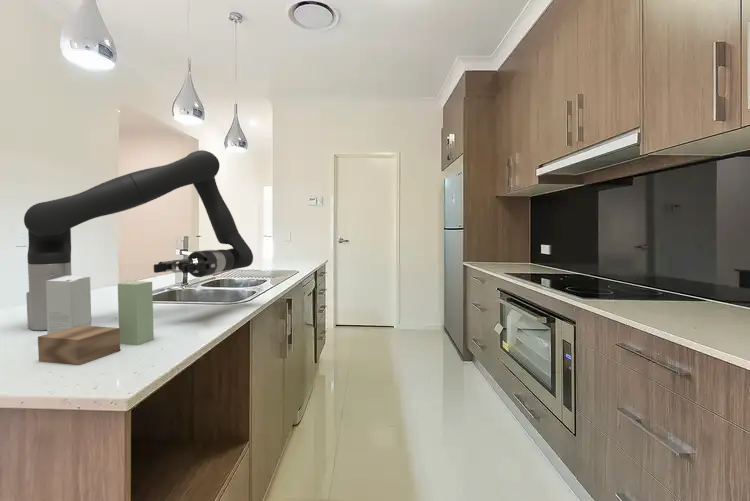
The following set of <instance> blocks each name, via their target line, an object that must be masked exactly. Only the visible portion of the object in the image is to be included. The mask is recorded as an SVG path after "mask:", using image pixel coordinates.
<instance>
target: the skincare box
mask: <svg viewBox="0 0 750 501" xmlns="http://www.w3.org/2000/svg"><path fill="white" fill-rule="evenodd" d="M91 296H92V295H91V276H90V275H72V276H63V277H60V278H56V279H52V280H48V281H46V297H47V330H46V331H47V334H50V333H54V332H58V331H62V330H66V329H70V328H74V327H78V326H82V325H83V326H92V300H91V299H92V297H91Z"/></svg>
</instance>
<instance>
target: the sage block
mask: <svg viewBox="0 0 750 501" xmlns="http://www.w3.org/2000/svg"><path fill="white" fill-rule="evenodd" d="M153 299H154V298H153V281H146V280H145V281H143V280H141V281H139V280H137V281H136V280H134V281H133V280H132V281H128V282H127V281H126V282H121V283H117V304H118V309H117V310H118V328H120V345H130V346H140V345H143V344H146V343H149V342H150V341H153V340H154V339H155V338H154V337H155V336H154V334H155V333H154V307H153V306H154V304H153V303H154V302H153Z"/></svg>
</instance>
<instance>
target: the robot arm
mask: <svg viewBox="0 0 750 501" xmlns="http://www.w3.org/2000/svg"><path fill="white" fill-rule="evenodd" d="M219 170H220V161H219V158H218V157H217V156H216V155H215V154H214V153H212V152H210V151H207V150H203V149H202V150H196V151H193V152H190V153H189V154H187V155H186V156H185V157H182V158H180V159H178V160H176V161H173V162H170V163H168V164H164V165H159V166H155V167H148V168H145V169H139V170H137V171H133V172H129V173H127V174H123V175H121V176H117V177H115V178H112V179H110V180H107V181H104V182H102V183H100V184H97V185H95V186H93V187H90V188H89V189H87V190H86V189H85V190H84V191H81V192H79V193H76V194H73V195H69V196H65V197H60V198H57V199H52V200H48V201H47V200H46V201H42V202H38V203H35V204H34V205H32V206H30V207H29V208H28V209H27V210H26V212H25V213H24V217H23V223H24V226H25V228H26V229H27V231H28V232H27V234H28V235H27V236H28V248H27V273H28V274H27V275H28V291H27V292H26V316H27V317H26V319H27V328H28V329H30V330H32V331H47V297H46V281H48V280H52V279H56V278H60V277H63V276H73V274H72V228H74V227H76V226H79V225H82V224H83V223H85V222H88V221H91V220H93V219H96V218H99V217H104V216H109V215H114V214H117V213H120V212H124V211H128V210H131V209H133V208H137V207H140V206H142V205H145V204H147V203H149V202H151V201H154V200H157V199H159V198H161V197H163V196H165V195H167V194H169V193H171V192H173V191H175V190H178V189H180V188H183V187H186V186H189V185H193V186H194V188H195V190H196V191H197V194H198V196H199V198H200V199H201V202H202V204H203V206H204V208H205V211H206V215H207V216H208V219H209V222H210V225H211V227H212V230H213V233H214V234H215V238H216V239H217V241H218V243H219V244H222V245H229V246H231V247H232V248H228V249H205V250H196V251H193V252H191V253H190V254H189V255H188V257H187V258H182V259H172V260H168V261H159V262H158V263H155V264H153V273H155V274H158V273H163V272H164V273H168V272H172V273H182V274H190V275H191V276H192V277H195V278H203V277H208V276H212V275H213V276H214V275H216V274H219V273H223V272H226V271H227V272H228V271H232V270H238V269H243V268H248V267H250V266H251V265H252V264H253V261H254V255H253V251H252V250H251V247H250V246H249V245H248V244H247V242H246V241H245V240H244V238H243V237H242V236H241V234H240V232H239V230H238V227H237V225H236V222H235V219H234V217H233V215H232V213H231V211H230V209H229V207H228V205H227V203H226V202H225V200H224V199H223V196H222V195H221V192H220V190H219V187H218V185H217V181H216V176H217V175H218V173H219Z"/></svg>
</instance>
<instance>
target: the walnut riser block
mask: <svg viewBox="0 0 750 501" xmlns="http://www.w3.org/2000/svg"><path fill="white" fill-rule="evenodd" d="M37 347H38V348H37V349H38V350H37V351H38V354H37V355H38V362H44V363H54V364H55V363H57V364H64V365H65V364H66V365H76V366H80V365H83V364H85V363H89V362H91V361H94V360H97V359H99V358H103V357H106V356H109V355H112V354H114V353H116V352H120V351H121V344H120V328H119V327H112V326H111V327H109V326H108V327H107V326H99V325H98V326H95V325H91V326H83V325H82V326H78V327H74V328H70V329H66V330H62V331H58V332H54V333H50V334H43V335H38V336H37Z"/></svg>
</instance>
